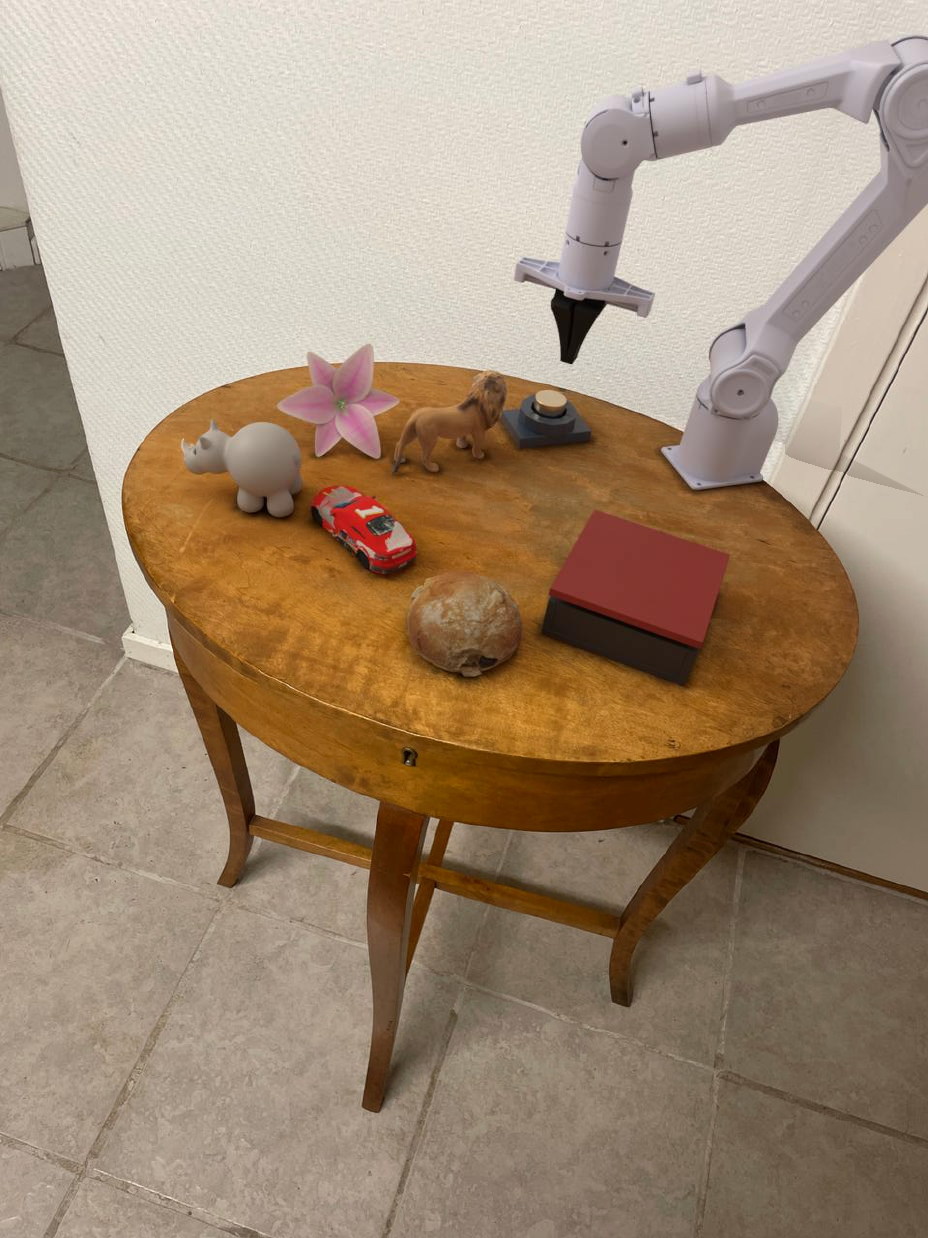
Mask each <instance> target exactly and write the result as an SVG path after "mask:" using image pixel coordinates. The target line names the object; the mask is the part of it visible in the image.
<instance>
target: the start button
mask: <svg viewBox="0 0 928 1238" xmlns="http://www.w3.org/2000/svg"><path fill="white" fill-rule="evenodd" d="M535 394H536V396H535V402H534V407H533V411H534V413H535V414H537V415H539V416H541V417H544V418H549V419H558V418H561V417H562V416H563V415H564V411H565V406H566V401H567V400H568V399H567V397H566V396H565V395H564V394H563V393H561V392H560V391H557V390H553V389H544V390H543V389H542V390H539V391H538V392H537V393H535Z"/></svg>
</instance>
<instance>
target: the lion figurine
mask: <svg viewBox="0 0 928 1238" xmlns="http://www.w3.org/2000/svg"><path fill="white" fill-rule="evenodd" d="M507 389H508V387H507V383H506V380H505V377H504V374H503V373H502V372H501V373H500V372H499V371H497V370H496V371H495V370H493V369H486V370H484V371H483V372H482V373H481V372H480V373H478V374H477V375H475V376H474V377H473V383H472V385H471V387H470V388H469V390H468V392H467V394H466V396H465V398H464V399H463V400H462V401H461V402H459V403H458V404H455V405H451V406H447V407H431V406H425V407H421V408H418V409H416V410H414V411H413V412H411V414H410V416H409V419H408V420H407V421H406V423H405V425H404V427H403V430H402V432H401V435H400V439H399V441H398V442H397V443H396V444H395V449H394V454H393V459H394V461H395V463H394V465H393V467H392V468H391V470H390V472H391V473H393V474H394V473H398V471H399V469H400V467H401V463H405V462H406V459H407V456H406V454H403V453H404V450H405V448H406V447H408V446H409V445H410V444H411V443H412V442H414V441H415V440H416V439H418V442H419V444H420V447H421V455H420V458H419V459H420V461H421V462H422V464H423V465H424V466H425V468H426V469H427V471H428V472H431V473H438V472H439V471H440V467H439V465H438V464H437V463H436V462H433V463H432V461H431V456H432V453H433V451H434V449H435V448H436V445H437V443H438V442H437V441H438V437H439V438H441V439H446V440H455V439H456V446H457V447H458V448H459V449H465V448H467V447H468V445H469V443H468V440H467V436H468V435H470V436H471V437H472V439H473V442H472V443H473V444H472V449H471V453H472V456H473V458H476V459H478V460H483V459H484V457H485V453H484V451H482V450H481V449H482V446H483V443H484V441H485V437H486V432H487V431H489V430H491V429H492V428H494V427H495V425H496V423H497V422H499V420H500V419H501V414H502V410H504V407H505V403H506V399H507V394H508V392H507V391H508V390H507Z"/></svg>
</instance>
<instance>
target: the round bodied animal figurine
mask: <svg viewBox="0 0 928 1238" xmlns="http://www.w3.org/2000/svg"><path fill="white" fill-rule="evenodd" d="M180 448H181V451H182V453H183V458H182V461H183V463H184V466H185V467H186V469H187V470H188V471H189V472H190V473H192V474H193V475H205V474H207V473H210V474H214V475H222V474H224V473H228V474H229V476H230V477H231V479H232V480H233V482H234V484H236V485H237V486H238V491H237V496H236V497H237V498H236V499H237V500H236V502H237V506H238V508H239V509H240V510H241V511H243V512H244V513H256V512H259V511H260V510H262V509H263V507H264V504H265V499H264V497H265V498H266V508H267V512H268V513H269V514H270V515H271V516H273V517H275V518H282V517H283V518H284V517H287V516H289V515H291V514H292V513H293V511H294V508H295V507H294V500H293V497H292V496H293V495H295V494H298V493H299V492H300V491H301V490H302V488H303V476H302V474H301V468H302V454H301V453H302V452H301V449H300V447H299V444H298V443H297V440H296V439H295V437H294V436H293V435H292V434H291V433H290V432H289V431H288V430H287V429H286V428H284V427H282V426H280V425H278V424H276V423H272V422H268V421H267V422H266V421H258V422H252V423H249V424H247V425H245V426H243V427H242V428H239V430H238V431H237V432H236V433H235V434H234V435H233V436H230V435H229V434H227V433H226V432H224V431H221V430H220V429H219V426H218V424H217V422H216V421H215V420H214V419H211V421H210V427H209V429H208V431H206V432H205V433H203V434H202V435H201V436H199V438H198V440H197V441H196V444H195V445H194V444H193V443H190V445H188V443H187V442H186V439H185V438H184V437H183V438H182V440H181V443H180Z"/></svg>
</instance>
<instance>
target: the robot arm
mask: <svg viewBox="0 0 928 1238" xmlns="http://www.w3.org/2000/svg"><path fill="white" fill-rule="evenodd" d="M702 71H703V70H701V69H699V68H698V69H694V70H692V71H687V72H686V74H685V75H686V76H685V81H682V82H681V81H680V82H678V83H673V84H670V85H666V86H662V87H658V88H654V89H651V90H646V91H644V87H643V86H640V87H636V88H633V89H632V90H631V95H630V96H631V97H630V96H628V97H627V96H625V95H624V94H611V95H608V96H605V97H603V98H602V99H600V100H599V101H598V102H597V103H596V104H595V105H594V106H592V108H591V110H590V112H589V114H588V115H587V118H586V119H585V121H584V127H583V130H582V133H581V138H580V154H581V159H580V160H579V162H578V165H577V171H576V172H577V178H576V179H575V180H574V183H573V185H572V192H571V199H570V205H569V209H568V215H567V221H566V225H565V231H564V232H565V233H564V237H563V243H562V249H561V255H560V258H559V259H560V260H559V261H553V260H552V261H551V260H543V259H538V258H537V259H536V258H530V257H527V256H522V257H521V258H520V259H519V260H518V261H517V262H516V264H515V269H514V276H513V281H514V282H517V283H525V282H527V283H532V284H535V285H538V286H543V287H546V288H549V289H552V290H555V291H554V294H553V297H552V298H551V300H550V310H551V312H552V315H553V318H554V320H555V323H556V327H557V333H558V339H559V347H560V348H559V349H560V350H559V351H560V357H559V358H560V359H559V360H560V362H561V363H565V364H568V365H573V364H574V362H575V361H576V360H577V359H578V356H579V353H580V350H581V348H582V345H583V343H584V342H585V339H586V337H587V335H588V333H589V332H590V331H591V328H592V326H593V325H594V324H595V322H596V320H597V319H598V317H600V315H601V314H602V313H603V311H604V309H605V308H606V307H607V306H608V305H609V306H612V307H617V308H620V309H623V310H627V311H630V312H634V313H636V316H637V317H641V318H645V319H646V318H648V316H649V314H650V313H651V311H652V308H653V304H654V301H655V297H656V292H653V291H649V290H647V289H645V288H641V287H639V286H637V285H635V284H633V283H631V282H628V281H626V280H624V279H622V278H620V277H618V276H616V275H615V274H616V271H617V266H618V261H619V257H620V252H621V248H622V244H623V239H624V235H625V230H626V226H627V221H628V217H629V212H630V207H631V203H632V199H633V194H634V191H633V187H632V185H633V181H634V177H635V171H636V170H637V169H638V168H639V167H640V165H641V164H642V163H643V162H644V161H646V162H647V161H648V162H656V161H661V160H665V159H667V158H668V159H669V158H672V157H676V156H681V155H685V154H689V153H693V152H694V153H695V152H697V151H702V150H707V149H710V148H713V147H718V146H722V145H723V144H724V142H725V141H726V140H727V138H728V137H729V135H730V134H731V133H732V132H733V131H734V129H735V128H736V127H738V126H739V127H740V126H744V125H748V124H753V123H758V122H764V121H769V120H774V119H780V118H785V117H789V116H794V115H799V114H804V113H805V114H806V113H811V112H815V111H820V110H826V109H834V110H836V111H838V112H840V113H842V114H844V115H846V116H849V117H850V118H852V119H854V120H857V121H858V122H860V123H863V124H864V125H865V124H866V125H868V124H869V122H870V118H871V115H872V112H873V114H874V116H875V118H876V121H877V124H878V128H879V133H878V134H879V155H880V157H879V158H880V169H879V171H878V172H877V173H876V175H875V176H874V177H873V178H872V179H871V180H870V181H869V183H868V184H867V185H866V186H865V187H864V188H863V190H862V191H861V192H860V193H859V194H858V195H857V196H856V197H855V199H854V200H853V201H852V202H851V203H850V204H849V206H848V207H847V208H846V209H845V210H844V211H843V213H842V214H841V215H840V216H839V217H838V218H837V219H836V221H835V222H834V223H833V224H832V225H831V226H830V228H829V229H828V230H827V231H826V232H825V233H824V234H823V236H822V237H821V238H820V239H819V240H818V242H816V244H815V245H814V246H813V247H812V248H811V250H809V252H808V253H807V254H806V255H805V256H804V258H803V259H802V260H801V261H800V262H799V263H798V264H797V266H796V267H795V268H794V269H793V270H792V272H791V273H790V274H789V275H788V276H787V277H786V278H785V280H783V282H782V283H781V284H780V285H779V286H778V288H776V290H775V291H774V292H773V293H772V295H771V296H770V297H769V298H768V299H767V300H766V302H764V304H763V305H762V306H759V307H757V308H753V309H751V310H749V311H747V313H746V314H745V315H744V316H743V317H742V318H741V319H740V320H739V321H738V322H736V323H734V324H733V325H731V326H729V327H726V328H724V329H723V330H721V331H720V332H718V334H717V335H716V336H715V337H714V338H713V340H712V341H711V343H710V346H709V348H708V360H709V363H710V365H709V366H710V369H709V371H710V373H709V374H708V376H707V377H705V379H704V380H703V381H702V382H701V383H700V384H699V385H698V387H697V390H696V394H695V396H694V400H693V403H692V405H691V408H690V412H689V415H688V418H687V421H686V424H685V427H684V431H683V432H682V437H681V439H680V442H679V444H677V445H669V446H663V447H662V448H661V449H660V452H661V453H662V454H663V456H664V457H665V458H666V459H667V461H668V462H669V464H670V465H671V466H672V467H673V468H674V469H675V470H676V472H677V473H678V475H680V476H681V478H682V479H683V480H684V481H685V483H686V484H687V485H688V486H689V487H690V489H691V490H693V491H700V490H701V491H702V490H708V489H715V488H721V487H731V486H736V485H744V484H750V483H751V484H752V483H758V482H762V481H763V480H764V476H763V474H762V473H761V471H762V469H763V468H764V467H763V466H764V464H765V461H766V459H767V457H768V454H769V452H770V449H771V447H772V445H773V442H774V441H775V437H776V435H777V431H778V427H779V411H778V408H777V405H776V404H775V401H774V400H773V398H772V396H773V395H772V394H773V391H774V388H775V386H776V384H777V382H779V380H780V379H781V378H782V376H784V375H785V373H786V372H787V369H788V367H789V365H790V363H791V360H792V359H793V355H794V353H795V351H796V348H797V346H798V344H799V343H800V342H801V340H803V338H804V337H805V336H806V335H807V334H808V333H809V332H810V331H811V330H812V328H814V327H815V325H816V324H817V323H818V322H819V321H820V320H821V319H822V318H823V317H824V316H825V315H826V314H827V312H828V311H829V310H830V309H831V308H832V307H833V306H835V304H836V303H837V302H838V301H839V300H840V299H841V297H843V295H844V294H845V293H846V292H847V291H848V290H850V288H851V286H853V285H854V284H855V283H856V281H857V280H858V279H859V278H861V276H862V275H863V274H864V273H865V272H866V271H867V269H869V268H870V266H871V265H872V264H873V263H874V262H875V261H876V260H877V259H878V258H879V257H880V256H881V255H882V253H883V252H884V251H885V250H886V249H887V248H888V247H889V246H890V245H891V244H892V243H893V242H894V241H895V239H897V237H899V235H900V234H901V233H902V232H903V231H904V230H905V229H906V228H907V227H908V226H909V225H910V224H911V222H912V221H913V220H914V219H915V218H916V217H917V216H918V215H919V214H920V213H921V212H922V210H924V209H925V208H926V206H927V205H928V35H923V34H908V35H904V36H902V37H899V38H897V39H895V40H893V41H891V42H890V40H888V39H884V40H874V41H870V42H867V43H863V44H861V45H858V46H855V47H851V48H848V49H845V50H841V51H838V52H836V53H832V54H829V55H826V56H823V57H818V58H816V59H813V60H809V61H806V62H802V63H800V64H797V65H793V66H790V67H786V68H783V69H780V70H777V71H773V72H770V73H767V74H764V75H761V76H758V77H754V78H751V79H747V80H744V81H741V82H738V83H734V84H733V83H730V82H728V81H727V80H725V79H724V78H723V77H721V76H720V75H718V74H716V73H711V74H707V75H704V76H703V73H702Z"/></svg>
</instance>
